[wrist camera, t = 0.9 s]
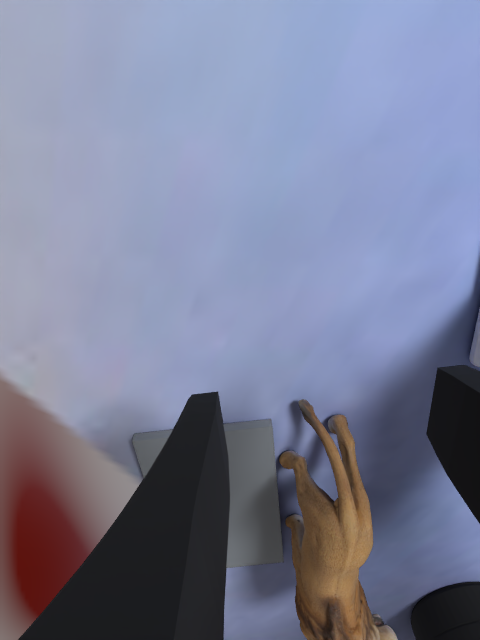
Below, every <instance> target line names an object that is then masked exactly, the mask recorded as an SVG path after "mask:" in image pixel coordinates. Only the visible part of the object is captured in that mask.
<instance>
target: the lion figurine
mask: <svg viewBox="0 0 480 640" xmlns="http://www.w3.org/2000/svg"><path fill="white" fill-rule="evenodd" d="M299 407H300V409H301V411H302V414H303V416H304V419H305V420H306V421H307V422H308V423H309V424H310V425H311V426H312V427H313V429H314V430H315V431H316V433H317V434H318V436H319V437H320V439H321V441H322V443H323V445H324V447H325V450H326V452H327V455H328V457H329V460H330V463H331V466H332V470H333V473H334V477H335V481H336V486H337V491H338V497H339V498H337V499H336V500H335V501H334V500H332V499H331V498H330V497H329V495H328V494H327V493H325V492H324V491H323V490H322V489H321V488H319V487H318V486H317V485H316V483H315V482H314V481H313V479H312V478H311V477H310V475H309V473H308V471H307V462H306V460H305V458H304V457H302V456H300V455H299V454H298V453H296V452H294V451H285V452H284V453H282V454H281V456H280V458H279V462H280V464H281V465H282V466H283V467H284V468H286V469H294V473H295V478H296V489H297V498H298V503H299V506H300V509H301V511H302V515H303V518H302V517H301V516H300V515H297V514H293V515H291V516H289V517H287V518H286V521H285V523H286V526H287V527H289V528H291V532H292V539H291V540H292V559H293V565H294V568H295V570H296V581H297V585H296V596H295V604H296V610H297V615H298V618H299V620H300V628H301V630H302V632H303V634H304V635H305V637H306V638H307V640H398V639H397V636H396V634H395V632H394V631H393V630H392V629H391V628H390V627H389V626H388V625H384V623H383V621H382V619H381V617H380V616H379V615H378V614H373V615H372V614H371V611H370V609H369V607H368V605H367V601H366V597H365V594H364V591H363V588H362V586H361V584H360V581H359V580H358V576H359V567H361V566H362V565H363V564H364V563H365V561H366V560H367V558H368V556H369V554H370V552H371V549H372V546H373V530H372V519H371V512H370V504H369V500H368V496H367V494H366V491H365V489H364V486H363V483H362V480H361V477H360V473H359V470H358V466H357V461H356V455H355V442H354V439H353V437H352V435H351V433H350V431H349V429H348V423H347V420H346V417H345V416H344V415H334V416H332V417H331V418H330V419H329V421H328V427H329V430H330V432H332V433H334V434H336V435H337V439H338V444H339V448H340V451H341V455H342V460H341V457H340V455H339V452H338V450H337V448H336V446H335V444H334V442H333V440H332V438H331V437H330V435H329V434H328V432H327V431H326V429H325V428H324V426H323V425H322V424H321V422H320V421H319V420H318V418H317V417H316V415H315V413H314V410H313V406H311V405H310V404H309V403H308V401H306V400H304V399H302V400H300V401H299ZM342 462H343V463H342Z"/></svg>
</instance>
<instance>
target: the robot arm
mask: <svg viewBox="0 0 480 640" xmlns="http://www.w3.org/2000/svg"><path fill="white" fill-rule="evenodd" d="M469 360H470V362H471V363H472V364H473V365H474V366H476V367H480V309H479V314H478V319H477V324H476V328H475V333H474V338H473V342H472V347H471V352H470V356H469ZM426 434H427V436H428V438H429V440H430V442H431V444H432V446H433V448H434V450H435V453H436V455H437V457H438V458H439V460H440V462H441V464H442V466H443V468H444V470H445V472H446V474H447V475H448V477H449V478H450V480H451V481H452V483H453V485H454V486H455V488H456V489H457V491H458V492H459V494H460V495H461V497H462V498H463V500H464V501H465V503H466V504H467V506H468V507H469V509H470V510H471V512H472V513H473V515H474V516H475V517H476V519H477V520H478V522H479V523H480V371H477V370H475V369H473V368H470V367H468V366H465V365H458V366H449V367H440V368H438V369H437V374H436V380H435V386H434V392H433V398H432V404H431V410H430V416H429V422H428V428H427V433H426ZM229 511H230V480H229V459H228V450H227V444H226V438H225V432H224V426H223V419H222V413H221V407H220V401H219V395H218V392H211V393H202V394H193V395H191V397H190V398H189V399H188V401H187V403H186V405H185V407H184V409H183V411H182V413H181V415H180V417H179V419H178V421H177V423H176V425H175V427H174V429H173V430H172V432H171V434H170V436H169V438H168V439H167V441H166V443H165V445H164V446H163V448H162V450H161V451H160V453H159V455H158V456H157V458H156V460H155V461H154V463H153V465H152V467H151V468H150V470H149V471H148V473H147V475H146V476H145V478H144V479H143V481H142V482H141V484H140V485H139V487H138V488H137V490H136V491H135V493H134V494H133V496H132V497H131V499H130V500H129V502H128V503H127V505H126V506H125V508H124V509H123V511H122V512H121V513H120V515H119V516H118V517H117V519H116V520H115V522H114V523H113V525H112V526H111V527H110V529H109V530H108V531H107V533H106V534H105V535H104V537H103V538H102V539H101V541H100V542H99V543H98V544H97V546H96V547H95V548H94V550H93V551H92V552H91V554H90V555H89V556H88V557H87V559H86V560H85V561H84V563H83V564H82V565H81V566H80V568H79V569H78V570H77V571H76V573H75V574H74V575H73V576H72V577H71V578H70V580H69V581H68V582H67V583H66V584H65V586H64V587H63V588H62V589H61V590H60V592H59V593H58V594H57V595H56V597H55V598H54V599H53V600H52V601H51V602H50V604H49V605H48V606H47V607H46V609H45V610H44V611H43V612H42V613H41V614H40V616H39V617H38V618H37V619H36V620H35V621H34V622H33V624H32V625H31V626H30V627H29V628H28V629H27V630H26V632H25V633H24V634H23V635H22V636H21V637H20V638H19V640H224V637H223V634H224V601H225V583H226V565H227V548H228V530H229Z"/></svg>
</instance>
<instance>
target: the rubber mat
mask: <svg viewBox="0 0 480 640" xmlns="http://www.w3.org/2000/svg"><path fill="white" fill-rule="evenodd" d="M223 426H224V432H225V438H226V444H227V450H228V459H229V480H230V511H229V530H228V548H227V565H226V568H232V567H241V566H251V565H260V564H270V563H280V562H284V560H283V548H282V536H281V524H280V512H279V500H278V488H277V476H276V464H275V452H274V440H273V428H272V421H271V419H265V420H256V421H247V422H238V423H228V424H223ZM171 432H172V430H164V431H155V432H145V433H136V434H134V437H133V440H132V443H133V446H134V449H135V452H136V455H137V458H138V462H139V465H140V468H141V471H142V474H143V477H144V478H145V476H146V475H147V473H148V471H149V470H150V468H151V467H152V465H153V463H154V461H155V460H156V458H157V456H158V455H159V453H160V451H161V450H162V448H163V446H164V445H165V443H166V441H167V439H168V438H169V436H170V434H171Z"/></svg>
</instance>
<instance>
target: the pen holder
mask: <svg viewBox="0 0 480 640" xmlns="http://www.w3.org/2000/svg"><path fill="white" fill-rule="evenodd" d="M411 625H412V629H413V632H414V635H415V638H416V640H480V582H466V583H459V584H455V585H451V586H447V587H444V588H442V589H439V590H437V591H435V592H433V593H431V594H429V595H428V596H426V597H425V598H423V599H422V600H421V601H420V602H419V603H418V604H417V605H416V606H415V608H414V610H413V612H412V617H411Z"/></svg>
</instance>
